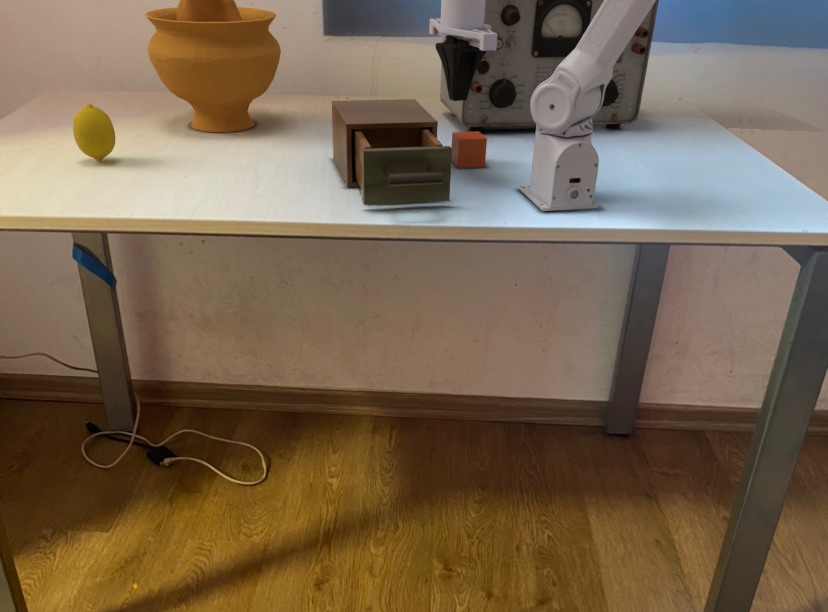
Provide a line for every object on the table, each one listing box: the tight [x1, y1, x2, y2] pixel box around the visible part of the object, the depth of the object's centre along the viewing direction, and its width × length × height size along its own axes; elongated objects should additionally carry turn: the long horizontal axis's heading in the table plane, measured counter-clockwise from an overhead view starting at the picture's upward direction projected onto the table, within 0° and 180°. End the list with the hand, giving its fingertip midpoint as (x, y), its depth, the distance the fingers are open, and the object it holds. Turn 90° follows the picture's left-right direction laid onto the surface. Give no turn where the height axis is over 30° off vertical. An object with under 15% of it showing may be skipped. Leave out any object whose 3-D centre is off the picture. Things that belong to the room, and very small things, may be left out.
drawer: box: [352, 127, 453, 206], centre depth 103 cm, size 18×11×7 cm, turn 13°
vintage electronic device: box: [439, 0, 660, 134], centre depth 135 cm, size 32×18×25 cm, turn 101°
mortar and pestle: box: [144, 0, 282, 133], centre depth 127 cm, size 21×21×30 cm
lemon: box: [72, 103, 116, 163], centre depth 113 cm, size 6×6×8 cm
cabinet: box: [331, 98, 439, 188], centre depth 113 cm, size 14×12×8 cm
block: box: [450, 131, 488, 169], centre depth 119 cm, size 4×4×4 cm
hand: (457, 99), depth 109 cm, fingers closed
